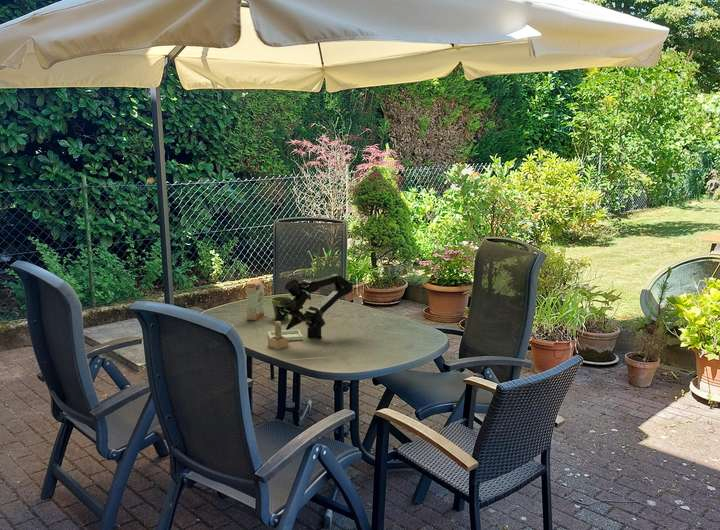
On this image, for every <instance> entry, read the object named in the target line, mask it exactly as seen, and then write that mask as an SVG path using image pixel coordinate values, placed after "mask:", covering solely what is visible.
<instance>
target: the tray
mask: <svg viewBox="0 0 720 530" xmlns="http://www.w3.org/2000/svg"><path fill="white" fill-rule="evenodd" d="M274 336H275V330H273V331H267V337H268V338H270V337H274ZM281 336H284V337H287V338H288V342H292V341H293V342H296V341H303V339H304V338H303V337H304V336H303V334H302V333H301V331H300V329H289V330H286V329H284V330H281Z"/></svg>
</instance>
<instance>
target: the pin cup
mask: <svg viewBox="0 0 720 530" xmlns="http://www.w3.org/2000/svg"><path fill="white" fill-rule="evenodd" d="M267 346H268V347H269V348H272V349H275V350H279V349H283V348H286V347H289V341H288V338H287V337H284V336H281V339H280V340H276V339H275V336H274V337H270V338H269V337H267Z"/></svg>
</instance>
